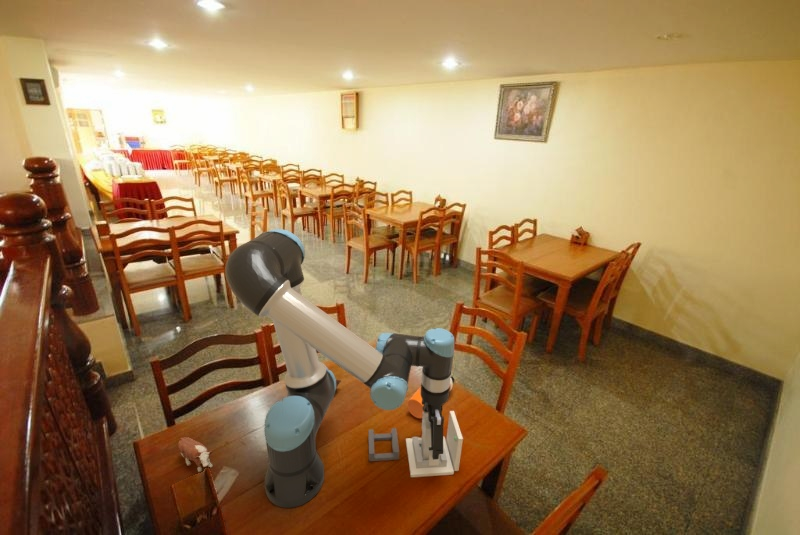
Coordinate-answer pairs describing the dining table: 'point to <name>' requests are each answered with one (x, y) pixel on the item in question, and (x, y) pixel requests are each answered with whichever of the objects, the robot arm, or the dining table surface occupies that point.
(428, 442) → the plug
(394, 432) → the grey square frame
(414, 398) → the shaker bottle
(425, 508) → the dining table surface
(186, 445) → the bull figurine
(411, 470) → the port
